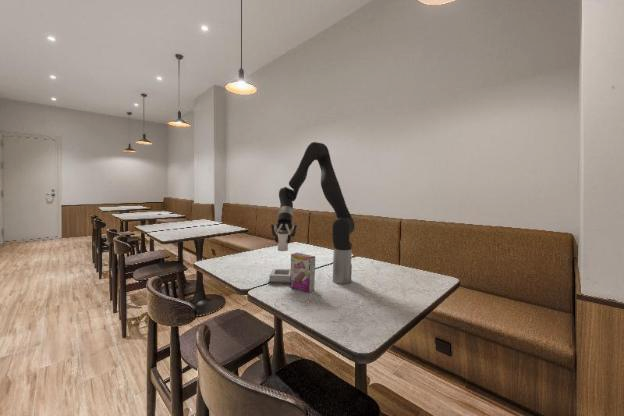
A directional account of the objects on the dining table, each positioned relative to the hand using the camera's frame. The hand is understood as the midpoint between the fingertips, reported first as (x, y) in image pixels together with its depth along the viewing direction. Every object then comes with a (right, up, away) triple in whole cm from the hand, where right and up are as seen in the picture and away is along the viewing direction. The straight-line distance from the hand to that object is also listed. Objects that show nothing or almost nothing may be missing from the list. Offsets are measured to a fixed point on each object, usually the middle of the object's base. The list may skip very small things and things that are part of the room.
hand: (282, 242), depth 136 cm
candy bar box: (+10, -21, -8) cm, 25 cm away
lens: (0, -4, +2) cm, 5 cm away
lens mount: (-1, -20, +2) cm, 20 cm away
